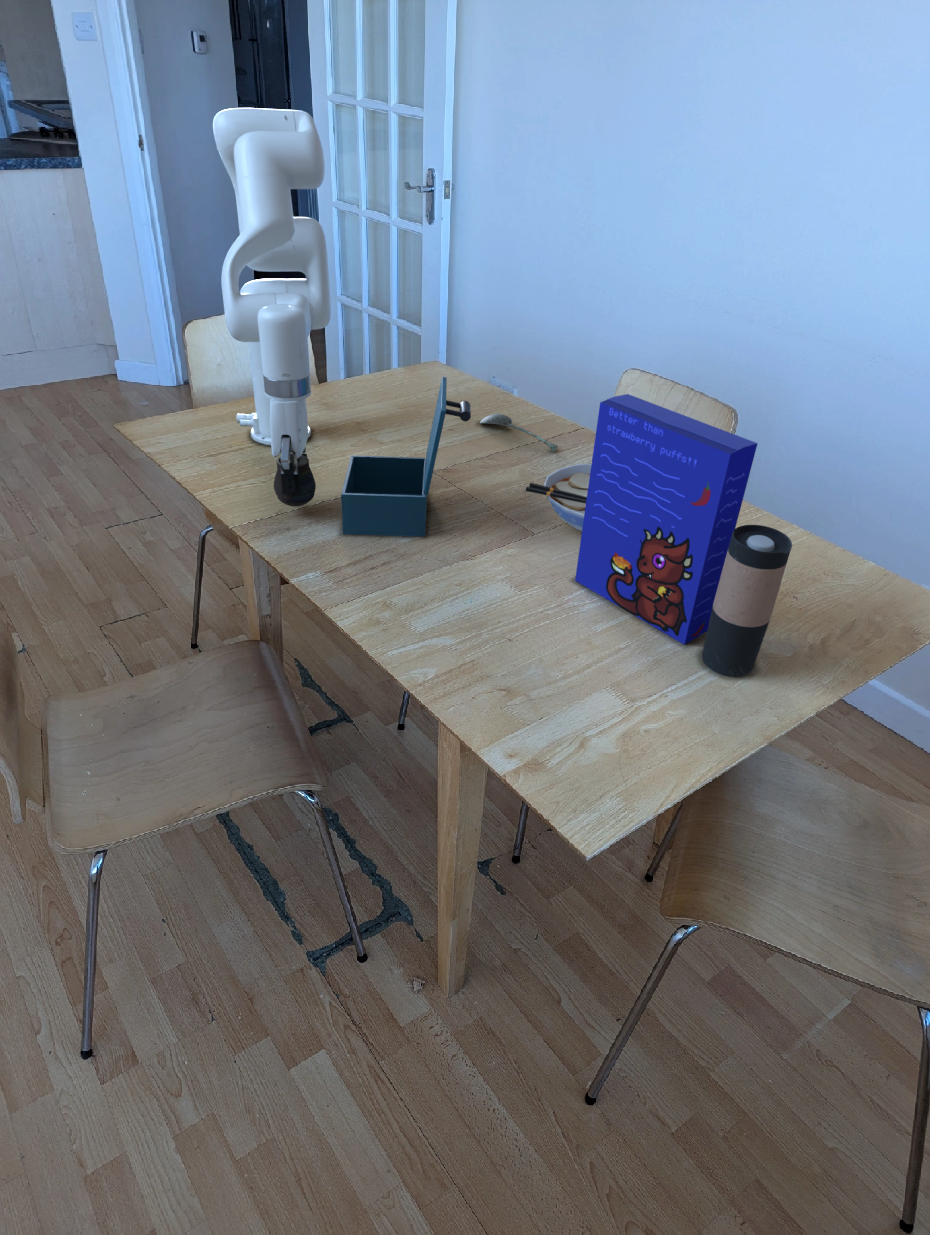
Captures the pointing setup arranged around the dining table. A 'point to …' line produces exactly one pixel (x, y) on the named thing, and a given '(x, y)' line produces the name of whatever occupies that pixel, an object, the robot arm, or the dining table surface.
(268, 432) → the robot arm
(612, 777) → the dining table surface
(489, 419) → the soupspoon
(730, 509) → the cereal box
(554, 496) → the ramen bowl
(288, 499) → the mate gourd
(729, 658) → the travel mug
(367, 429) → the dining table surface
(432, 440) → the lid
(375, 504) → the blue open rectangular box
